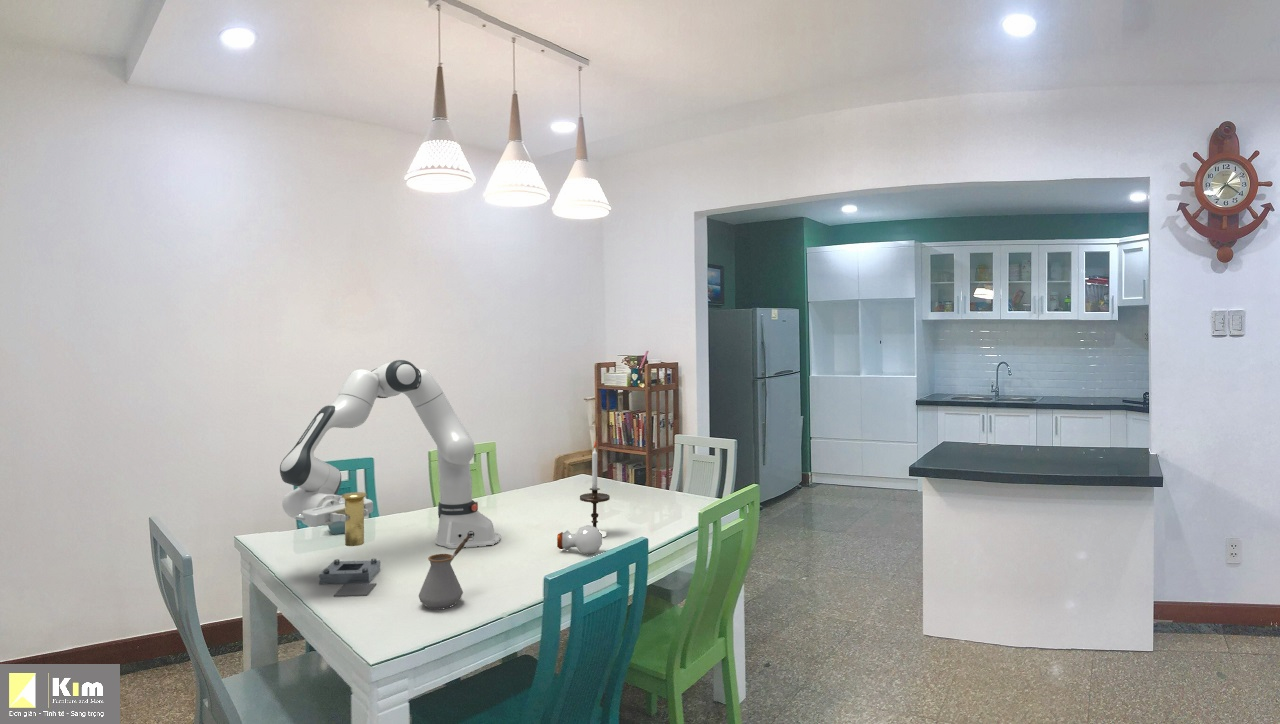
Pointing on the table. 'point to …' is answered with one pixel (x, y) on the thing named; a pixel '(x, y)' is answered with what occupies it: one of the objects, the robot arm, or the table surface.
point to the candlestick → (594, 490)
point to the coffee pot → (441, 581)
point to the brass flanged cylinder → (354, 518)
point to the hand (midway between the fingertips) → (356, 515)
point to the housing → (349, 572)
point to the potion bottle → (581, 540)
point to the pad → (355, 589)
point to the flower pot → (337, 527)
